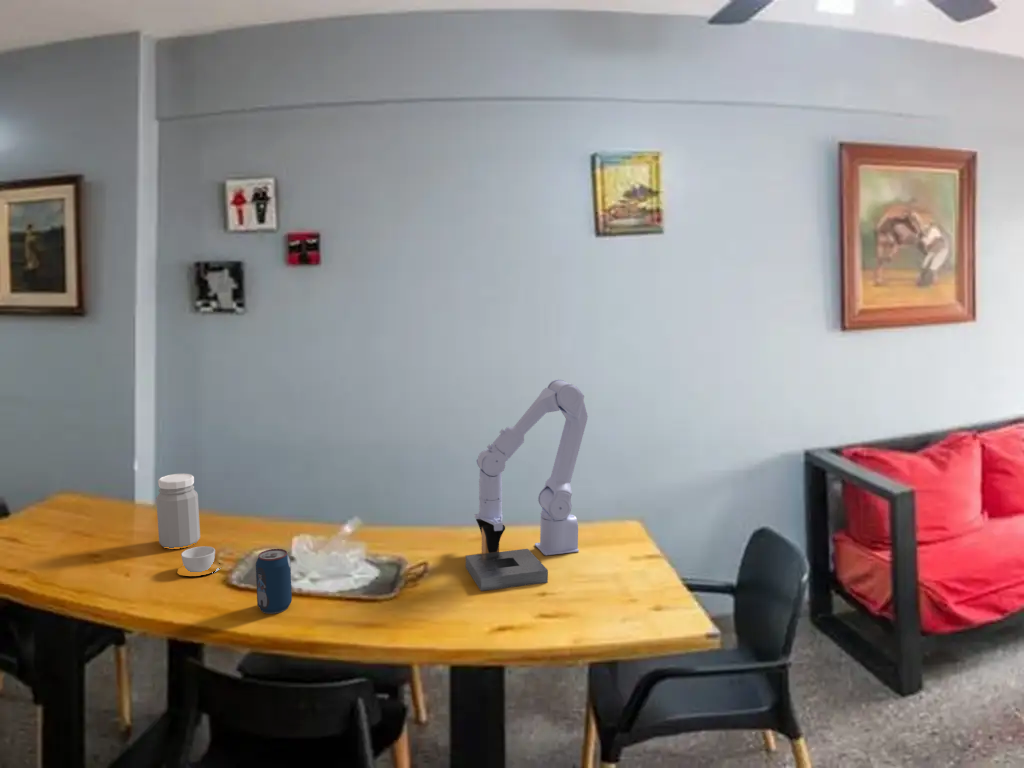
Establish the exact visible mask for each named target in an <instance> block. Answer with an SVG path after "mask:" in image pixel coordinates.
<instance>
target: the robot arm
mask: <svg viewBox="0 0 1024 768" xmlns="http://www.w3.org/2000/svg"><path fill="white" fill-rule="evenodd" d="M584 400H585V395H584V394H583V392H582V391H581V390H580V388H579V387H578V386H577V385H575V384H572V383H569V382H567V381H565V380H563V379H559V378H558V379H554V380H551V382H550V383H549V384H548V385H547V387H545V388H544V389H542V391H541V392H540V394H539V395H538V396H537V397H536V398H535V400H534V402H533V403H532V404H531V405H530V406H529V407H528V408H527V410H526V411H525V413H523V415H522V416H521V417H520V418H519V419H518V420H517V422H516V424H514V425H513V426H512V425H511V426H507V427H506V428H505V429H504V428H501V429H500V430H499V435H498V436H497V438H496V439H495V440H494V441H493V442H491V444H490V443H489V444H488V445H487V446H486V448H487V449H483V450H482V451H481V452H480V453H479V455H478V457H477V459H476V464H477V467H479V479H478V482H479V483H478V485H479V486H478V488H479V489H478V490H479V491H478V495H479V496H478V502H479V503H478V504H479V505H478V513H475V514H474V518H475V521H476V522H477V526H478V527H479V530H480V535H481V536H482V528H483V530H484V533H485V536H486V540H487V548H488V552H489V553H491V552H497V550H498V546H499V547H500V542H501V537H503V533H504V532H505V530H506V526H505V525H504V523H503V522H502V521H503V509H502V508H503V507H502V506H503V490H502V489H503V479H502V476H503V475H502V472H503V471H505V468H506V463H507V461H509V459H510V458H511V457H512V456H513V455H514V454H515V453H516V451H517V450H518V449H520V447H521V446H522V445H523V444H524V443H525V435H526V434H527V433H528V432H529V431H530V430H531V429H532V428H533V427H534V426H535V424H537V423H538V422H539V421H540V419H542V418H543V417H544V415H546V414H547V413H548V414H549V413H553V412H558V411H559V412H561V413H562V416H564V418H565V421H564V426H563V429H562V433H561V436H560V440H559V444H558V447H557V451H556V455H555V458H554V459H555V460H554V463H553V466H552V469H551V475H550V477H549V478H548V479H547V480H546V481H545V484H544V487H543V488H542V490H540V492H539V494H538V497H537V499H538V500H537V501H538V504H539V506H540V507H541V512H540V524H539V525H540V531H539V532H540V534H539V535H540V536H539V538H540V539H539V542H535V543H534V546H535V547H536V548H537V549H538V550H539V551H540V552H541V553H542V554H543V555H544V556H553V555H562V554H569V553H578V552H580V549H579V523H578V518H577V517H576V516H575V515H574V514H571V512H572V509H573V508H572V507H573V505H572V495H573V493H572V487H571V481H572V478H573V473H574V470H575V467H576V463H577V459H578V455H579V451H580V449H581V448H580V447H581V444H582V440H583V438H584V434H585V433H584V432H585V429H586V425H587V422H588V417H589V416H588V413H587V409H586V405H585V401H584Z"/></svg>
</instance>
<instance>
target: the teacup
mask: <svg viewBox="0 0 1024 768" xmlns="http://www.w3.org/2000/svg"><path fill="white" fill-rule="evenodd" d="M215 556H216V549H215V548H214V547H213V546H206V545H205V546H204V545H203V546H196V547H195V546H194V547H192V548H191V547H189V548H187V549H186V550H184V551H182V552H181V560H182V564H183V566H185V568H186V569H187V570H188V571H190V572H202V571H205V570H208V569H209V568H210V567H211V565H212V564H213V562H214V561H215ZM219 570H220V569H219V568H217V569H216V571H215V572H214V573H216V572H218V571H219ZM214 573H213V572H212V574H214Z"/></svg>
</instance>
